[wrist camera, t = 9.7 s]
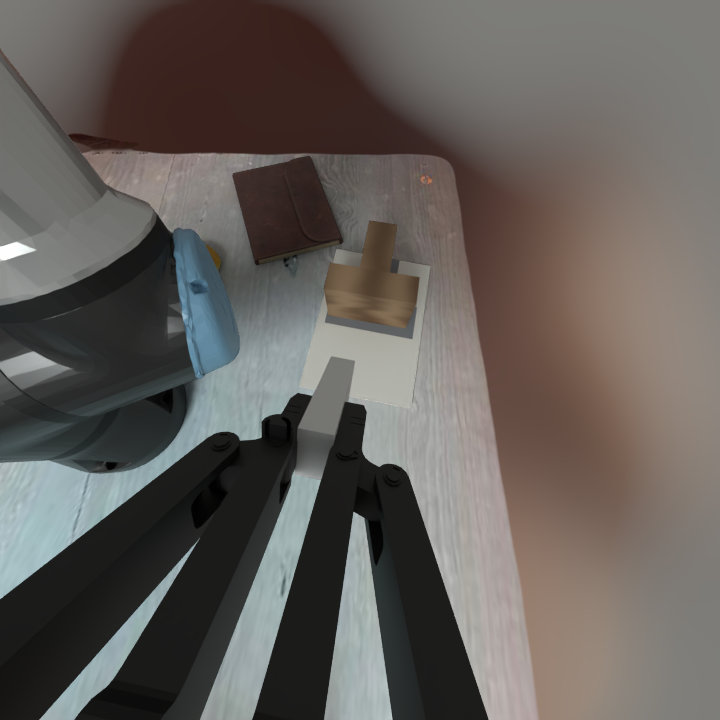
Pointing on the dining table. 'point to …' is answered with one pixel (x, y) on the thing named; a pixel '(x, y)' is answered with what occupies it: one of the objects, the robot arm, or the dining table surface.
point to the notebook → (285, 210)
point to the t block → (372, 284)
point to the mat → (371, 344)
